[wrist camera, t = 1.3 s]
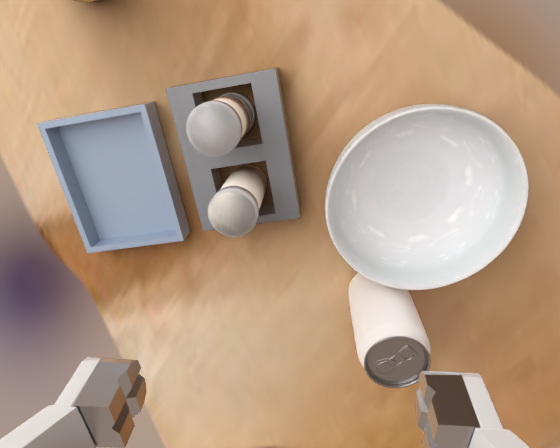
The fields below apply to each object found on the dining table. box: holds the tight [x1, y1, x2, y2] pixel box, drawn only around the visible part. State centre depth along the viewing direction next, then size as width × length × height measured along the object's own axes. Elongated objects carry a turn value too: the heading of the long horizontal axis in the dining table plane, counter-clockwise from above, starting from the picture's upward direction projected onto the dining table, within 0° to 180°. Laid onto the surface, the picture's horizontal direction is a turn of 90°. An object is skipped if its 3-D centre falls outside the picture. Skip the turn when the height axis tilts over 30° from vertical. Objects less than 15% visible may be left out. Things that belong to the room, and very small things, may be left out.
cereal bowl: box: [325, 104, 529, 290], centre depth 38 cm, size 17×17×7 cm
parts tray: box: [37, 102, 190, 253], centre depth 42 cm, size 14×11×2 cm
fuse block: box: [166, 68, 301, 237], centre depth 36 cm, size 14×10×9 cm
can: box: [348, 273, 430, 388], centre depth 40 cm, size 6×6×12 cm
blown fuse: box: [186, 92, 255, 157], centre depth 35 cm, size 4×4×9 cm
